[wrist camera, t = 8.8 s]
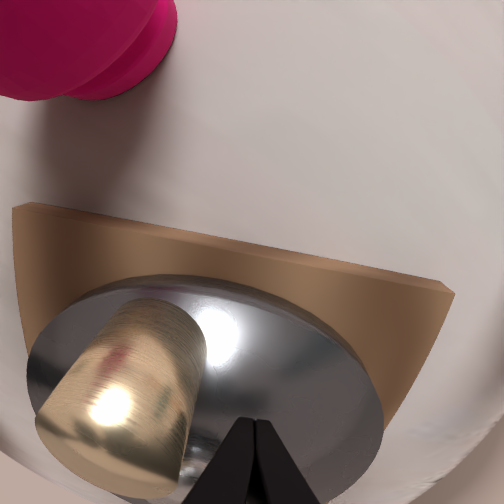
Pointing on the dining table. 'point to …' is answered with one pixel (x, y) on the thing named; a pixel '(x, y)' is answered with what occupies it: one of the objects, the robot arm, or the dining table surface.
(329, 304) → the wheel mount
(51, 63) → the pepper mill
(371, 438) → the handwheel
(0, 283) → the dining table surface
